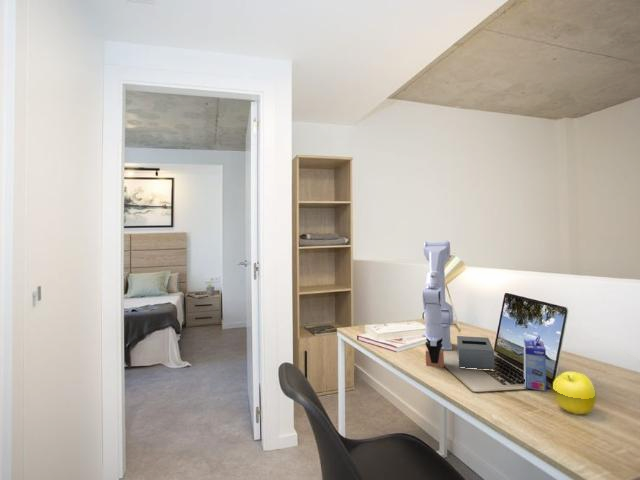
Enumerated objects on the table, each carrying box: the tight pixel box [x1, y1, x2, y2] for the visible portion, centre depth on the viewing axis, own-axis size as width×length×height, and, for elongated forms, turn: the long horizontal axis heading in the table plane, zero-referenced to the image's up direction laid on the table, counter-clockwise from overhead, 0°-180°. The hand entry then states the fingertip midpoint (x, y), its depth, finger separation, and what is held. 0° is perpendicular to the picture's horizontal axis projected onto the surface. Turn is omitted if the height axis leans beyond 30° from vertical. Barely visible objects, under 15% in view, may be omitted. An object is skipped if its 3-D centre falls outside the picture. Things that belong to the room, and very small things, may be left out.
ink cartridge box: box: [523, 335, 547, 392], centre depth 105 cm, size 10×6×14 cm, turn 152°
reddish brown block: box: [425, 348, 445, 368], centre depth 124 cm, size 2×6×5 cm, turn 70°
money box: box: [456, 335, 496, 370], centre depth 125 cm, size 16×11×7 cm
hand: (434, 360), depth 124 cm, fingers open, 4 cm apart
